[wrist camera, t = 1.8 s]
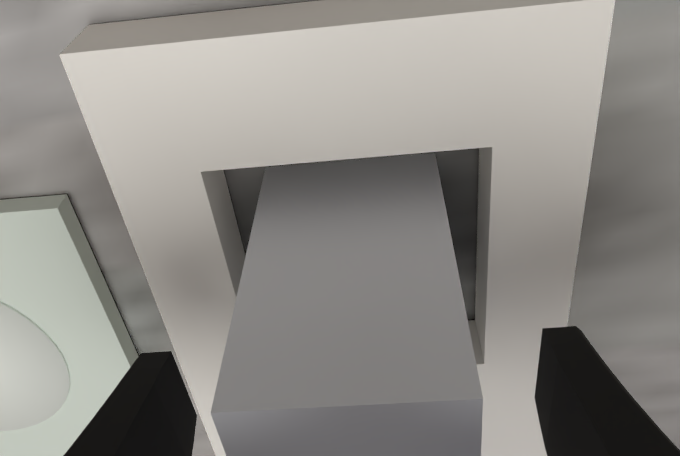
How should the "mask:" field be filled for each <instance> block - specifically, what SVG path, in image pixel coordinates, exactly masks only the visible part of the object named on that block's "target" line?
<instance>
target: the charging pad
mask: <svg viewBox="0 0 680 456" xmlns="http://www.w3.org/2000/svg"><path fill="white" fill-rule="evenodd" d="M138 357H139V356H138V354H137V352H136V349H135V347H134V345H133V343H132V340H131V338H130V336H129V334H128V331H127V329H126V327H125V325H124V322H123V320H122V318H121V316H120V313H119V311H118V309H117V307H116V304H115V302H114V300H113V297H112V295H111V293H110V291H109V288H108V286H107V284H106V282H105V279H104V277H103V275H102V273H101V270H100V268H99V266H98V264H97V261H96V259H95V257H94V255H93V252H92V250H91V248H90V246H89V243H88V241H87V239H86V237H85V234H84V232H83V230H82V228H81V225H80V223H79V221H78V218H77V216H76V214H75V212H74V209H73V207H72V205H71V203H70V200H69V198H68V196H67V194H64V195H52V196H40V197H28V198H16V199H4V200H0V456H63V455H64V454H65V453H66V452H67V450H68V449H69V448H70V447H71V445H72V444H73V443H74V442H75V440H76V439H77V438H78V436H79V435H80V434H81V433H82V431H83V430H84V429H85V427H86V426H87V425H88V424H89V422H90V421H91V420H92V418H93V417H94V416H95V414H96V413H97V412H98V410H99V409H100V408H101V406H102V405H103V404H104V402H105V401H106V400H107V398H108V397H109V396H110V394H111V393H112V392H113V390H114V389H115V388H116V386H117V385H118V384H119V382H120V381H121V379H122V378H123V377H124V375H125V374H126V373H127V371H128V370H129V369H130V367H131V366H132V364H133V363H134V362H135V360H136V359H137V358H138Z"/></svg>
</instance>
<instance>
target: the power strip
mask: <svg viewBox="0 0 680 456" xmlns="http://www.w3.org/2000/svg"><path fill="white" fill-rule="evenodd" d="M614 6H615V0H318V1H308V2H299V3H290V4H280V5H271V6H261V7H252V8H243V9H233V10H224V11H214V12H205V13H196V14H186V15H177V16H167V17H158V18H149V19H139V20H130V21H120V22H111V23H102V24H92V25H88V26H87V27H86V28H85V29H84V30H83V31H82V32H81V33H80V34H79V35H78V36H77V37H76V38H75V39H74V40H73V41H72V42H71V43H70V44H69V45H68V46H67V47H66V48H65V49H64V50H63V51H62V52H61V53H60V54H59V55H60V58H61V60H62V63H63V66H64V68H65V71H66V73H67V76H68V78H69V81H70V83H71V86H72V89H73V91H74V94H75V96H76V99H77V101H78V104H79V107H80V109H81V112H82V114H83V117H84V119H85V122H86V125H87V127H88V130H89V132H90V135H91V137H92V140H93V142H94V145H95V148H96V150H97V153H98V155H99V158H100V160H101V163H102V166H103V168H104V171H105V173H106V176H107V178H108V181H109V184H110V186H111V189H112V191H113V194H114V196H115V199H116V201H117V204H118V207H119V209H120V212H121V214H122V217H123V219H124V222H125V225H126V227H127V230H128V232H129V235H130V237H131V240H132V243H133V245H134V248H135V250H136V253H137V255H138V258H139V260H140V263H141V266H142V268H143V271H144V273H145V276H146V278H147V281H148V284H149V286H150V289H151V291H152V294H153V296H154V299H155V302H156V304H157V307H158V309H159V312H160V314H161V317H162V319H163V322H164V325H165V327H166V330H167V332H168V335H169V337H170V340H171V343H172V345H173V348H174V350H175V353H176V355H177V358H178V361H179V363H180V366H181V368H182V371H183V373H184V376H185V378H186V381H187V384H188V386H189V389H190V391H191V394H192V396H193V399H194V402H195V404H196V407H197V409H198V412H199V414H200V417H201V420H202V422H203V425H204V427H205V430H206V432H207V435H208V437H209V440H210V443H211V445H212V448H213V450H214V453H215V455H216V456H226V453H225V451H224V448H223V445H222V443H221V440H220V437H219V435H218V432H217V429H216V427H215V424H214V421H213V418H212V416H211V408H212V404H213V400H214V395H215V391H216V386H217V382H218V377H219V373H220V368H221V364H222V359H223V355H224V350H225V346H226V341H227V337H228V333H229V328H230V324H231V319H232V315H233V310H234V306H235V301H236V297H237V292H238V288H239V283H240V279H241V275H242V270H243V266H244V261H245V257H246V256H245V252H244V248H243V244H242V240H241V236H240V232H239V228H238V225H237V221H236V217H235V213H234V209H233V205H232V201H231V197H230V194H229V190H228V186H227V182H226V178H225V174H224V170H227V169H239V168H251V167H262V166H274V165H286V164H298V163H309V162H321V161H333V160H345V159H356V158H368V157H380V156H392V155H404V154H415V153H427V152H439V151H451V150H462V149H474V148H479V173H478V215H477V258H476V300H475V320H470V321H468V324H469V329H470V334H471V339H472V345H473V350H474V355H475V360H476V365H477V370H478V375H479V380H480V386H481V391H482V396H483V415H482V441H481V456H547V453H546V450H545V446H544V441H543V437H542V432H541V427H540V423H539V418H538V413H537V408H536V403H535V398H534V397H535V389H536V380H537V371H538V363H539V354H540V346H541V337H542V328H555V327H567V325H568V318H569V311H570V305H571V298H572V291H573V284H574V277H575V271H576V264H577V257H578V250H579V243H580V237H581V230H582V223H583V216H584V209H585V203H586V196H587V189H588V182H589V175H590V169H591V162H592V155H593V148H594V141H595V135H596V128H597V121H598V114H599V107H600V101H601V94H602V87H603V80H604V73H605V67H606V60H607V53H608V46H609V39H610V33H611V26H612V19H613V12H614Z"/></svg>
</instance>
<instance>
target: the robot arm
mask: <svg viewBox="0 0 680 456" xmlns="http://www.w3.org/2000/svg"><path fill="white" fill-rule="evenodd" d="M534 398H535V403H536V408H537V413H538V418H539V423H540V427H541V432H542V437H543V441H544V446H545V450H546V453H547V456H680V450H679V449H678V448H677V447H676V446H675V445H674V444H673V443H672V442H671V440H670V439H669V438H668V437H667V436H666V435H665V434H664V433H663V432H662V431H661V430H660V428H659V427H658V426H657V425H656V424H655V423H654V421H653V420H652V419H651V418H650V417H649V416H648V415H647V413H646V412H645V411H644V410H643V409H642V408H641V407H640V405H639V404H638V403H637V402H636V401H635V400H634V398H633V397H632V396H631V395H630V394H629V392H628V391H627V390H626V389H625V388H624V386H623V385H622V384H621V383H620V381H619V380H618V379H617V378H616V376H615V375H614V374H613V373H612V371H611V370H610V369H609V367H608V366H607V365H606V364H605V362H604V361H603V360H602V358H601V357H600V356H599V354H598V353H597V352H596V350H595V349H594V348H593V346H592V345H591V344H590V342H589V341H588V340H587V338H586V337H585V335H584V334H583V333H582V331H581V330H580V329H579V328H577V327H576V326H572V327H555V328H542V337H541V346H540V354H539V363H538V371H537V380H536V389H535V397H534ZM196 418H197V415H196V412H195V410H194V407H193V405H192V402H191V400H190V397H189V395H188V392H187V390H186V387H185V385H184V382H183V380H182V377H181V375H180V372H179V370H178V367H177V365H176V362H175V360H174V357H173V355H172V352H171V351H169V352H153V353H141V354H140V356H139V357H138V358H137V359H136V360H135V362H134V363H133V364H132V366H131V367H130V369H129V370H128V371H127V373H126V374H125V375H124V377H123V378H122V379H121V381H120V382H119V384H118V385H117V386H116V388H115V389H114V390H113V392H112V393H111V394H110V396H109V397H108V398H107V400H106V401H105V402H104V404H103V405H102V406H101V408H100V409H99V410H98V412H97V413H96V414H95V416H94V417H93V418H92V420H91V421H90V422H89V424H88V425H87V426H86V427H85V429H84V430H83V431H82V433H81V434H80V435H79V436H78V438H77V439H76V440H75V442H74V443H73V444H72V445H71V447H70V448H69V449H68V450H67V452H66V453H65V454H64V455H63V456H192V449H193V442H194V434H195V426H196Z"/></svg>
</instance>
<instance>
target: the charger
mask: <svg viewBox="0 0 680 456" xmlns="http://www.w3.org/2000/svg"><path fill="white" fill-rule="evenodd" d="M482 415H483V396H482V391H481V386H480V380H479V375H478V370H477V365H476V360H475V355H474V350H473V345H472V339H471V334H470V329H469V324H468V319H467V314H466V309H465V304H464V299H463V293H462V288H461V283H460V278H459V273H458V268H457V263H456V258H455V252H454V247H453V242H452V237H451V232H450V227H449V222H448V217H447V212H446V206H445V201H444V196H443V191H442V186H441V181H440V176H439V171H438V165H437V160H436V155H435V153H430V154H418V155H407V156H395V157H383V158H371V159H360V160H348V161H336V162H324V163H313V164H301V165H289V166H278V167H266V168H265V172H264V176H263V181H262V185H261V190H260V194H259V199H258V203H257V208H256V212H255V216H254V221H253V225H252V230H251V234H250V239H249V243H248V248H247V252H246V257H245V261H244V266H243V270H242V275H241V279H240V283H239V288H238V292H237V297H236V301H235V306H234V310H233V315H232V319H231V324H230V328H229V333H228V337H227V341H226V346H225V350H224V355H223V359H222V364H221V368H220V373H219V377H218V382H217V386H216V391H215V395H214V400H213V404H212V408H211V416H212V418H213V421H214V424H215V427H216V429H217V432H218V435H219V437H220V440H221V443H222V445H223V448H224V451H225V453H226V456H481V441H482Z"/></svg>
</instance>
